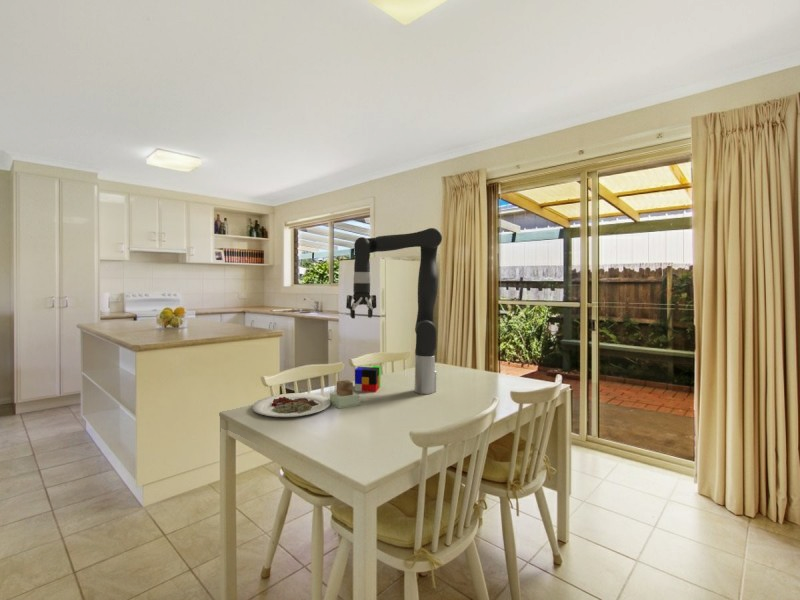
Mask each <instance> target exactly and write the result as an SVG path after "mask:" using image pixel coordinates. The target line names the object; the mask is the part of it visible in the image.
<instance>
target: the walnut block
mask: <svg viewBox="0 0 800 600" xmlns="http://www.w3.org/2000/svg"><path fill="white" fill-rule="evenodd" d="M336 392H337V394H338V395H340V396H347V395H353V392H354V382H353V381H350V380H348V379H345V380H340V381H339V380H337V381H336Z"/></svg>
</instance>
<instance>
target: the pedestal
mask: <svg viewBox="0 0 800 600" xmlns="http://www.w3.org/2000/svg"><path fill="white" fill-rule="evenodd" d="M329 400H330V405H331V406H333V407H335V408H336V409H338V410H340V409H344V408H345V409H346V408H350V407H358V406H361V405H362V403H361V402H360V395H359V394H358V393H356V392H354V391H353V395H347V396H340V395H338V394H337V391H334V392H330V393H329Z"/></svg>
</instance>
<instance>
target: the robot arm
mask: <svg viewBox="0 0 800 600" xmlns="http://www.w3.org/2000/svg"><path fill="white" fill-rule="evenodd" d="M442 241H443V234H442V232H441V231H440V230H439V229H437V228H434V227H428V228H427V229H424V230H420V231H416V232H410V233H402V234H388V235H387V234H386V235H379V236H376V237H371V238H370V237H368V238H367V237H364V236H363V237H362V236H361V237H358V238H357V239H355V241H354V244H353V247H354V248H353V249H354V268H353V271H354V272H353V295H351V294H350V295H349V294H347V295H346V305H345V307H346V308H345V309H349V310H350V313H349V314H350V318H351V319H356V308H357V307H358V306H363V305H365V306H366V307H367V318H369V319H371V318H372V317H373V310H374V309H377V296H376V294H372V295H371V273H370V271H371V270H370V269H371V267H370V266H371V264H370V263H371V262H370V256H371V254H372V253H377V252H379V253H380V252H383V253H384V252H391V251H397V250H403V249H409V248H414V247H415V248H416V247H417V248H419V247H420V263H419V269H418V278H417V279H418V280H417V315H416V322H415V328H414V330H415V331H414V332H415V334H416V335H415V336H416V337H415V348H414V353H415V354H414V357H415V358H414V393H417V394H420V395H421V394H422V395H429V394H430V395H431V394H434V393H435V392H437V371H436V349H437V328H436V327H437V326H436V325H435V324H434V310H435V309H434V308H435V304H436V300H437V297H438V296H437V295H438V289H439V288H438V287H439V272H438V266H437V255H438V254H437V253H438V247H439V245H440V244H441V243H442ZM370 300H371V301H370ZM352 301H353V302H352Z"/></svg>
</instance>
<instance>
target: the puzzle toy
mask: <svg viewBox="0 0 800 600" xmlns="http://www.w3.org/2000/svg"><path fill="white" fill-rule="evenodd" d="M381 373H382V371H381V366H380V365H364V364H363V365H362V364H360V365H359V366H358V367H356V368H355V369H354V391H355V392H371V393H376V392H377V391H378V390H380V387H381V378H382V377H381Z"/></svg>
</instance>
